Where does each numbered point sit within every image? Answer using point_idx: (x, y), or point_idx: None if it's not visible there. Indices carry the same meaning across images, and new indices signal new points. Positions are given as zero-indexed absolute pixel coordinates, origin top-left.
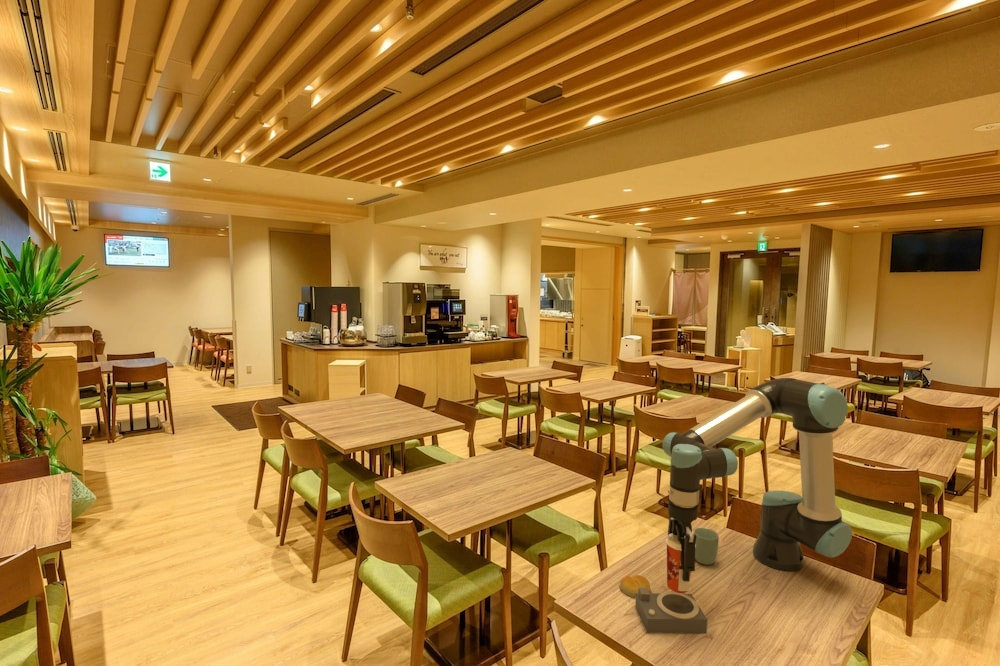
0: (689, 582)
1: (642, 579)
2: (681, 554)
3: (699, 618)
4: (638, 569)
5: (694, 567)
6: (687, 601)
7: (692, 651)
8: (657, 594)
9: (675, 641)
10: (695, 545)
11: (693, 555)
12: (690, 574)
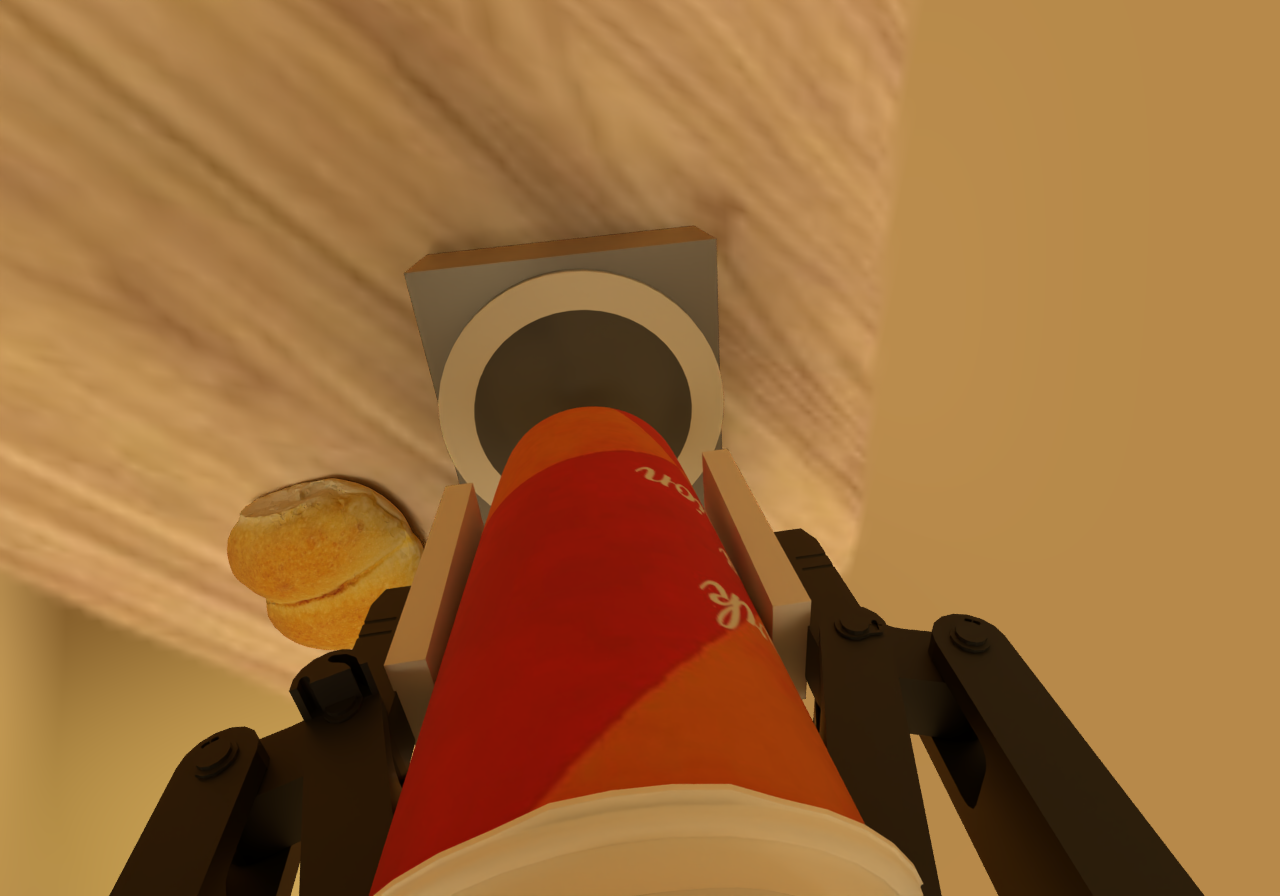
0: (750, 494)
1: (309, 568)
2: None
3: (708, 295)
4: (74, 516)
5: (1022, 665)
6: (548, 343)
7: (835, 352)
8: (481, 512)
9: (763, 420)
10: (715, 800)
11: (1167, 885)
12: (667, 487)
